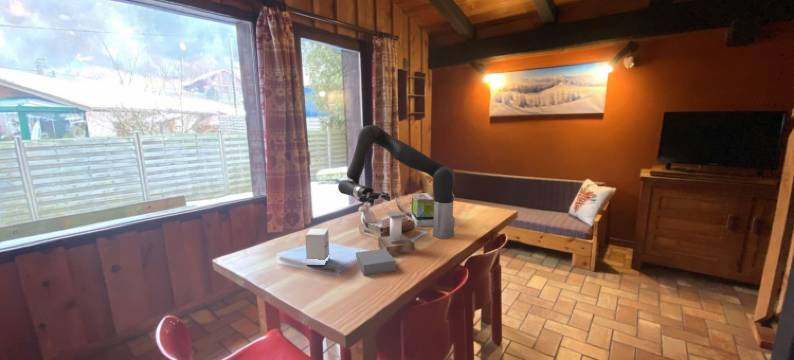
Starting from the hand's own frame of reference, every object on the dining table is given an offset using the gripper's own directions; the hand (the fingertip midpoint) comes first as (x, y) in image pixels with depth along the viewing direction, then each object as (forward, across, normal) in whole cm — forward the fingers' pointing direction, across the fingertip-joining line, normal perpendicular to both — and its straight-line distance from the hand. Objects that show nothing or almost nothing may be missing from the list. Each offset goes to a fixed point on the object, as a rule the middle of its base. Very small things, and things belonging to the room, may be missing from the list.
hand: (381, 200), depth 145 cm
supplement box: (+5, -32, +20) cm, 38 cm away
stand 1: (+20, -16, +20) cm, 32 cm away
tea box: (-12, +34, +20) cm, 41 cm away
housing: (+11, 0, +15) cm, 19 cm away
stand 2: (+11, 0, +19) cm, 22 cm away
